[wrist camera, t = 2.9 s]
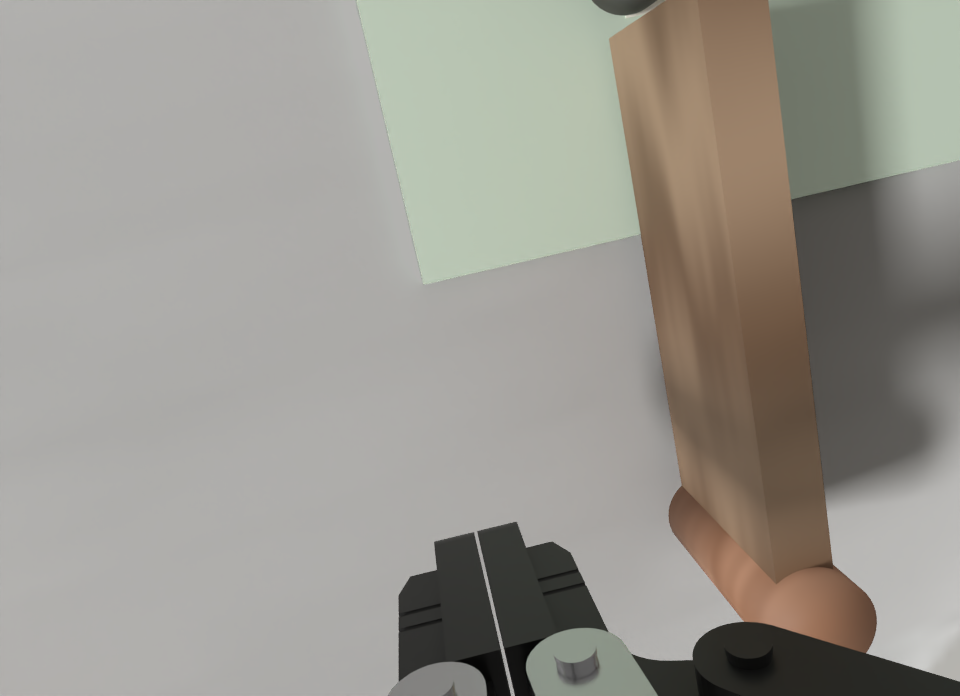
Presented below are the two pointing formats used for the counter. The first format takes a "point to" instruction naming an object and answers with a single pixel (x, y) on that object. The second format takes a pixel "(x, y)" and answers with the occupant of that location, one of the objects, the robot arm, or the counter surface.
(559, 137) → the card
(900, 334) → the counter surface
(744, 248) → the hinged fence panel
